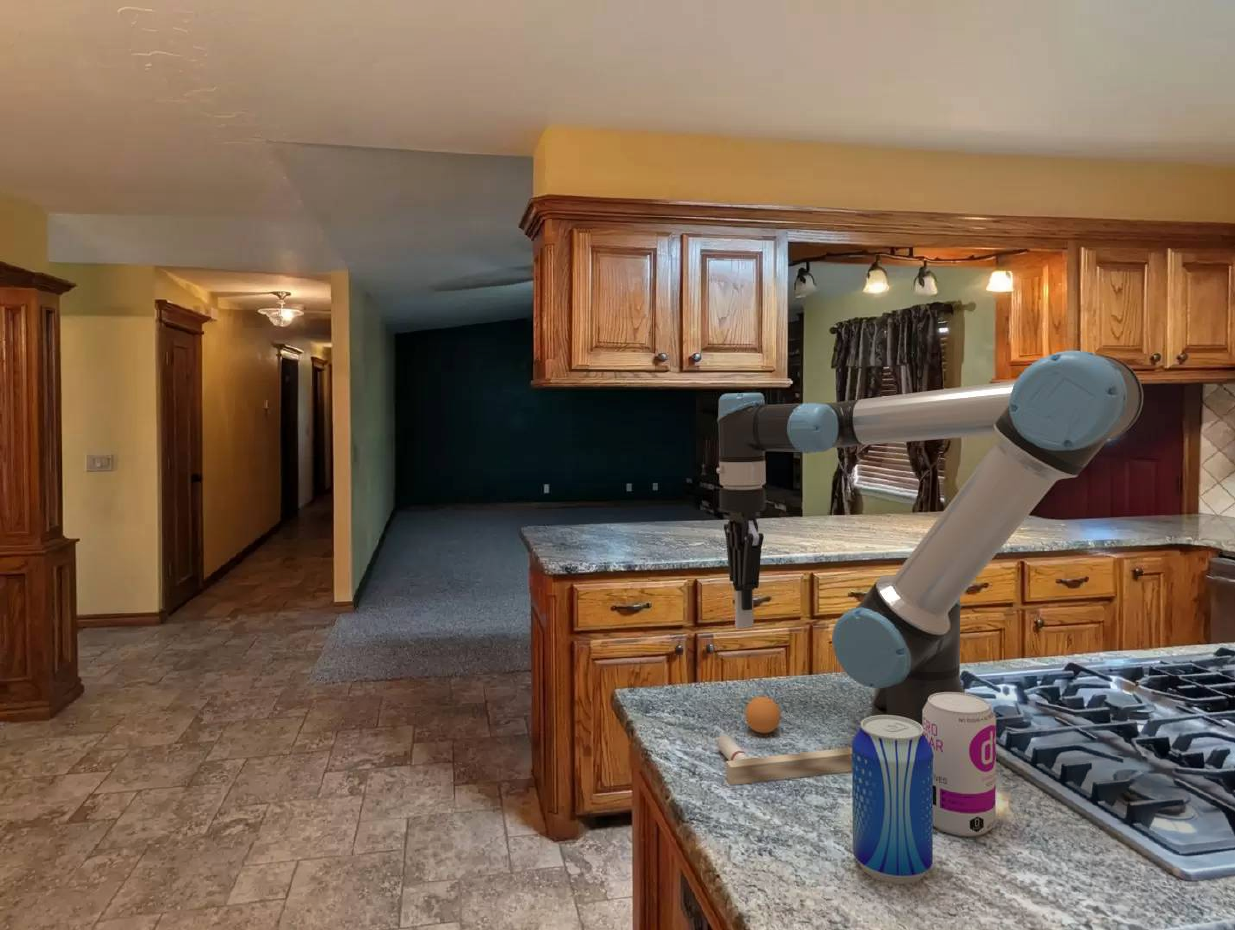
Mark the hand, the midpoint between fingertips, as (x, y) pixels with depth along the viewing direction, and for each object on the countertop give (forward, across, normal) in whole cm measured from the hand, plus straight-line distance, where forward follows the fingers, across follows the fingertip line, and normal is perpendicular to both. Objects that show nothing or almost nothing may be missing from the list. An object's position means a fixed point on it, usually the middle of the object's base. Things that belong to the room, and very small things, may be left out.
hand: (744, 627), depth 137 cm
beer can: (+15, +48, 0) cm, 50 cm away
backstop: (+14, +24, 0) cm, 28 cm away
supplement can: (+15, +41, +13) cm, 45 cm away
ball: (+12, +9, 0) cm, 15 cm away
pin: (+13, +14, -8) cm, 21 cm away
